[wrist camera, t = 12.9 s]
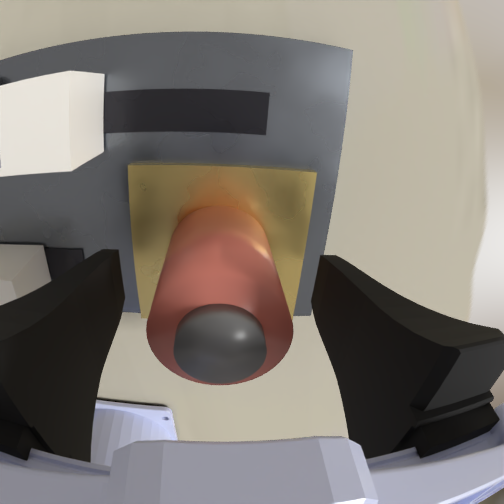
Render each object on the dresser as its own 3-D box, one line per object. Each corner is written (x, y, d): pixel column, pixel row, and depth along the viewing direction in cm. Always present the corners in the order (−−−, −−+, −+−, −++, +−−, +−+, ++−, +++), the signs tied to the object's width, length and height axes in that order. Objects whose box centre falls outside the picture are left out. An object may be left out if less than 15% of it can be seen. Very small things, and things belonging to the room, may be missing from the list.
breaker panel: (304, 301, 17) (313, 323, 15) (18, 288, 15) (4, 307, 13) (341, 53, 11) (359, 48, 9) (-11, 68, 9) (-34, 69, 8)
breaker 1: (56, 300, 14) (31, 343, 11) (-1, 294, 13) (-30, 331, 10) (43, 245, 12) (9, 284, 9) (-17, 243, 12) (-52, 277, 9)
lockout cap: (264, 294, 14) (286, 398, 9) (172, 293, 14) (153, 397, 9) (273, 206, 12) (309, 290, 7) (167, 204, 12) (132, 288, 7)
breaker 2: (103, 151, 11) (68, 173, 8) (21, 158, 10) (-25, 181, 8) (104, 74, 9) (66, 70, 7) (18, 88, 9) (-30, 94, 6)
